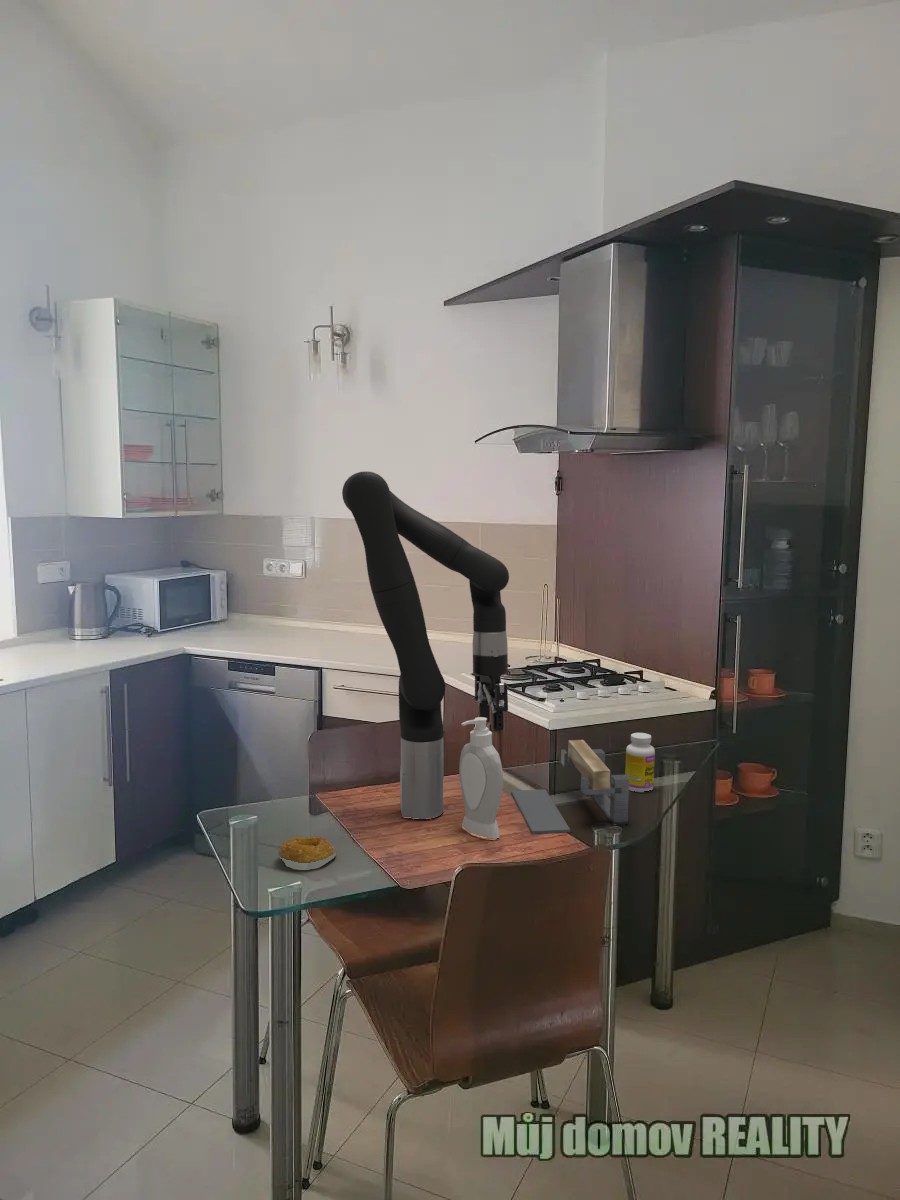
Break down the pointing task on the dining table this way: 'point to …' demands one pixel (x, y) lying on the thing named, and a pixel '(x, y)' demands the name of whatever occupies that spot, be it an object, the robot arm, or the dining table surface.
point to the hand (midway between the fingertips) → (491, 726)
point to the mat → (540, 812)
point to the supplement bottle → (640, 763)
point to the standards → (606, 791)
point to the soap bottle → (481, 781)
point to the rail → (589, 764)
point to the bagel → (306, 849)
